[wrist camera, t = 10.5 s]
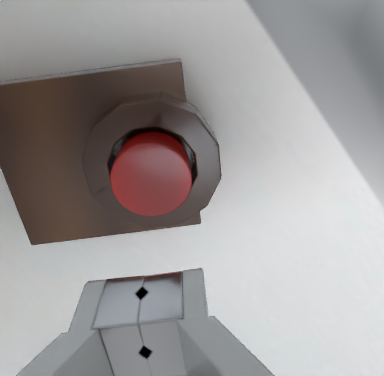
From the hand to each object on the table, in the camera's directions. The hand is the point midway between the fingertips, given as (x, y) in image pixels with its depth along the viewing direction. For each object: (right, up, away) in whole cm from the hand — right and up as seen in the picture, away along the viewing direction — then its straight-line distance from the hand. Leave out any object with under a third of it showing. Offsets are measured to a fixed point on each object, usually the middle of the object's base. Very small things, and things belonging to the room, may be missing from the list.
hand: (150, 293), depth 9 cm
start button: (-1, +4, +8) cm, 9 cm away
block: (-4, +5, +10) cm, 12 cm away
